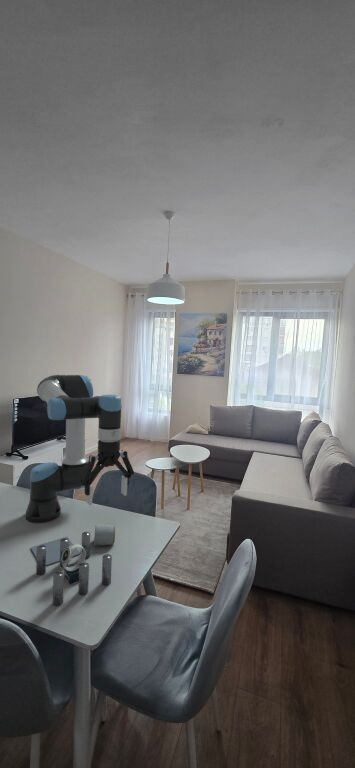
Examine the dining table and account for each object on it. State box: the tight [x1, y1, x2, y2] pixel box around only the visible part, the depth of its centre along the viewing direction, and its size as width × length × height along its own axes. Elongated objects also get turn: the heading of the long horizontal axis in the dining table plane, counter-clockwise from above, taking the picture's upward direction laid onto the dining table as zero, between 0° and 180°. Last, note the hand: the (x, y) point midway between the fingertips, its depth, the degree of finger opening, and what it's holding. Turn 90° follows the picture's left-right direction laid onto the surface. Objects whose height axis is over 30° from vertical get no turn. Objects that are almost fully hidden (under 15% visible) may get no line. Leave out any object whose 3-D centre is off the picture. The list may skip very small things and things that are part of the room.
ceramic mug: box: [93, 524, 116, 547], centre depth 136 cm, size 11×8×8 cm
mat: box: [30, 536, 81, 567], centre depth 127 cm, size 14×14×1 cm
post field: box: [35, 531, 113, 607], centre depth 113 cm, size 20×19×9 cm
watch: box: [61, 543, 86, 585], centre depth 113 cm, size 6×8×11 cm
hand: (107, 498), depth 118 cm, fingers open, 13 cm apart
